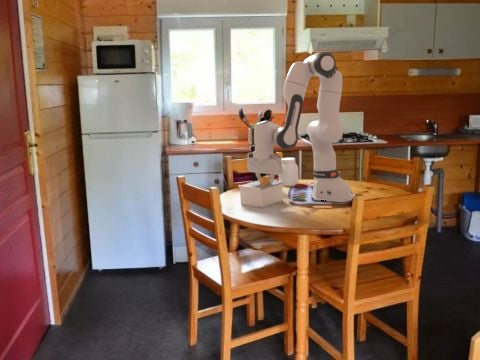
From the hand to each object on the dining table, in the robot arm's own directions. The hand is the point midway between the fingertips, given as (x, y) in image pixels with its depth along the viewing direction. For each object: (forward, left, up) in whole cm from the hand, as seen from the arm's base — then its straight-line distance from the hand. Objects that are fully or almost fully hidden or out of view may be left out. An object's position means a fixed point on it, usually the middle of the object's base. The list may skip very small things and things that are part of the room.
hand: (265, 182), depth 235 cm
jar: (+18, -42, -11) cm, 47 cm away
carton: (+3, 0, -11) cm, 11 cm away
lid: (+3, 0, -2) cm, 4 cm away
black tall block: (+25, -25, -11) cm, 37 cm away
